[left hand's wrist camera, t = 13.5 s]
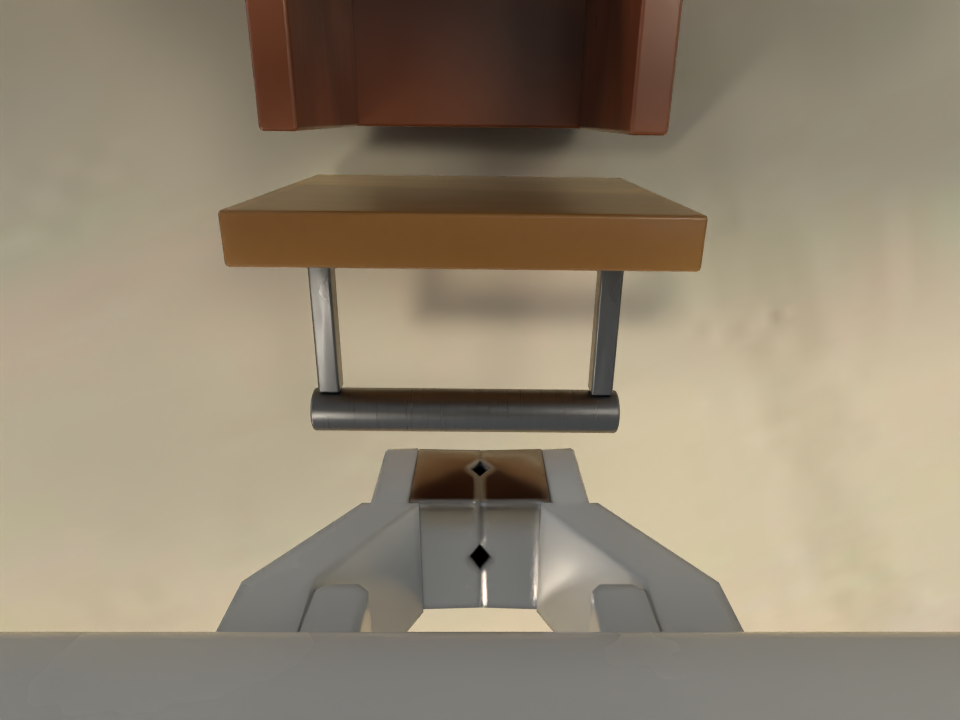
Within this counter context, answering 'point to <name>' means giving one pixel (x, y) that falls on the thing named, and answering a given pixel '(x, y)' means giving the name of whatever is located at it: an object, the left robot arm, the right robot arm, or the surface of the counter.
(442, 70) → the drawer
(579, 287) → the counter surface
